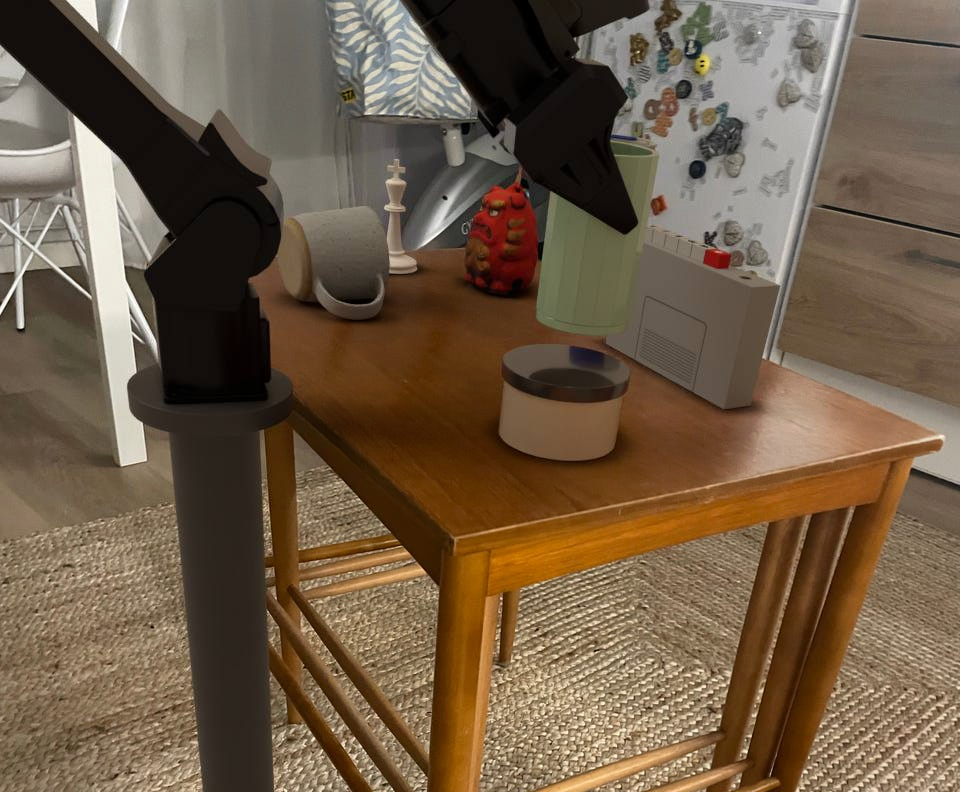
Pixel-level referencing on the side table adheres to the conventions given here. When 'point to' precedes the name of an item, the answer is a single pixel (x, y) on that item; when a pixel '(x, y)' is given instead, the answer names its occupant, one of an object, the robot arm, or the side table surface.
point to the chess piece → (397, 224)
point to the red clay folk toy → (502, 241)
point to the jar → (561, 401)
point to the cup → (595, 256)
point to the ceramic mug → (336, 260)
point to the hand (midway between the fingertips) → (618, 217)
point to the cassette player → (698, 318)
